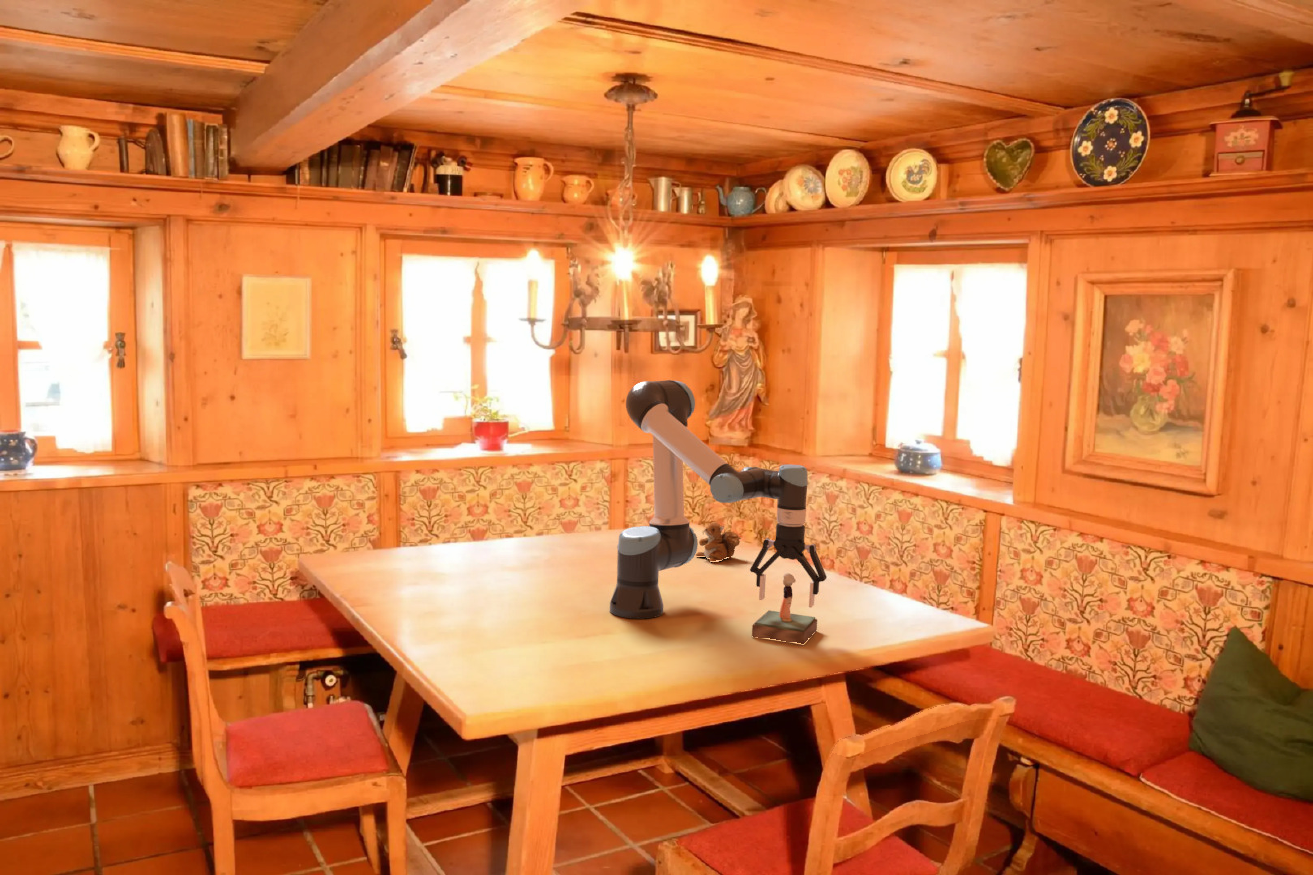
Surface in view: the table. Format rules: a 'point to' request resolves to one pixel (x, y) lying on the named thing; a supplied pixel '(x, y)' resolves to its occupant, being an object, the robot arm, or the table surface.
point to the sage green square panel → (784, 627)
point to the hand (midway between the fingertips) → (786, 602)
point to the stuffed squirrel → (718, 542)
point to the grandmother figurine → (787, 598)
